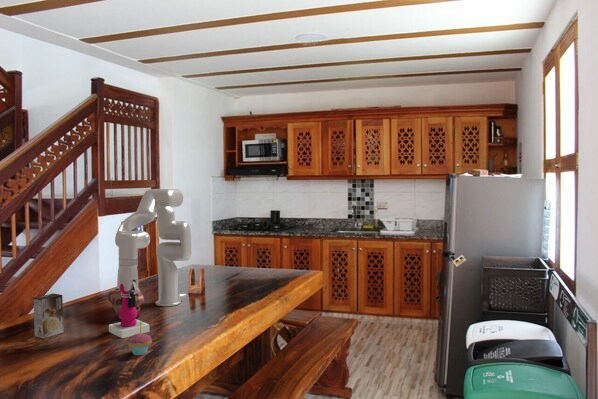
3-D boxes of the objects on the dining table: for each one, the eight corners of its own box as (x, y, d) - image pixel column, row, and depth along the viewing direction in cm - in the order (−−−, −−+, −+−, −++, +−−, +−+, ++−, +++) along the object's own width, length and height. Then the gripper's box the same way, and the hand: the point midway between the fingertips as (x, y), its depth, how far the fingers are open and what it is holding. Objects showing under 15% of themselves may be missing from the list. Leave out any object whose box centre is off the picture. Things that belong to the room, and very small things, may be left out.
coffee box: (55, 330, 212) (54, 292, 211) (64, 332, 209) (63, 294, 208) (33, 336, 204) (32, 297, 204) (43, 338, 201) (42, 299, 200)
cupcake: (131, 349, 188) (130, 318, 188) (154, 348, 189) (153, 317, 189) (125, 357, 180) (124, 324, 179) (149, 357, 181) (149, 324, 180)
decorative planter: (98, 319, 229) (97, 288, 228) (115, 312, 241) (114, 283, 240) (136, 322, 223) (136, 291, 223) (151, 315, 235) (151, 285, 234)
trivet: (135, 325, 218) (135, 318, 218) (149, 331, 210) (149, 324, 210) (109, 331, 210) (108, 324, 210) (122, 338, 202) (121, 330, 201)
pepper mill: (131, 327, 205) (129, 279, 204) (115, 327, 206) (113, 279, 205) (141, 322, 212) (139, 275, 211) (125, 322, 213) (123, 275, 212)
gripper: (110, 261, 212) (110, 304, 212) (129, 265, 200) (129, 311, 200) (127, 259, 217) (127, 301, 217) (146, 263, 205) (146, 308, 205)
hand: (128, 305), depth 209 cm, fingers closed on pepper mill, 5 cm apart
